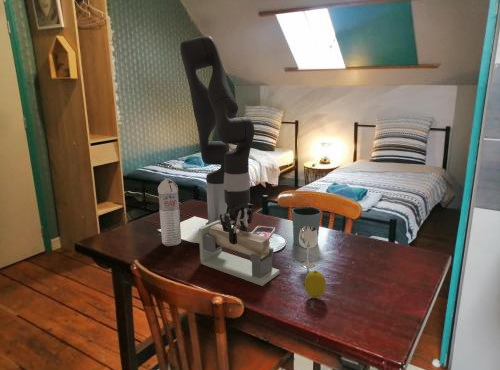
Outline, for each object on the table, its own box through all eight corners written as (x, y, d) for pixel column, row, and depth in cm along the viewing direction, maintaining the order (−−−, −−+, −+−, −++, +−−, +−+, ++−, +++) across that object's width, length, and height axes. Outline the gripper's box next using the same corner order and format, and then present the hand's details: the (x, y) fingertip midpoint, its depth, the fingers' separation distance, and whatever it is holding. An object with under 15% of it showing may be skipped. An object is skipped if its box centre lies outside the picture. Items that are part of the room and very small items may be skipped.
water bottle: (183, 239, 145) (179, 173, 138) (178, 247, 138) (173, 177, 132) (165, 238, 145) (160, 173, 139) (159, 246, 139) (153, 177, 132)
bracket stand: (219, 253, 132) (218, 220, 129) (279, 273, 118) (279, 236, 115) (200, 263, 125) (198, 228, 122) (262, 286, 112) (262, 246, 108)
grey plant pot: (287, 245, 138) (288, 213, 135) (295, 235, 147) (296, 204, 144) (316, 250, 134) (317, 216, 131) (322, 238, 143) (324, 207, 140)
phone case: (264, 246, 139) (275, 230, 153) (264, 242, 139) (275, 227, 152) (244, 243, 142) (257, 228, 155) (244, 240, 141) (257, 225, 155)
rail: (218, 238, 128) (217, 223, 126) (269, 253, 116) (269, 238, 115) (209, 242, 125) (209, 227, 123) (261, 258, 113) (261, 242, 112)
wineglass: (318, 261, 126) (319, 226, 122) (315, 270, 120) (316, 233, 117) (300, 259, 127) (301, 224, 124) (296, 267, 122) (297, 231, 119)
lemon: (302, 293, 108) (302, 266, 105) (322, 292, 108) (323, 265, 106) (306, 304, 102) (307, 276, 100) (327, 303, 103) (328, 275, 101)
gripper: (241, 179, 123) (242, 231, 127) (210, 190, 112) (213, 246, 116) (261, 183, 118) (261, 236, 123) (231, 194, 107) (232, 252, 112)
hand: (238, 240), depth 120 cm, fingers open, 4 cm apart
